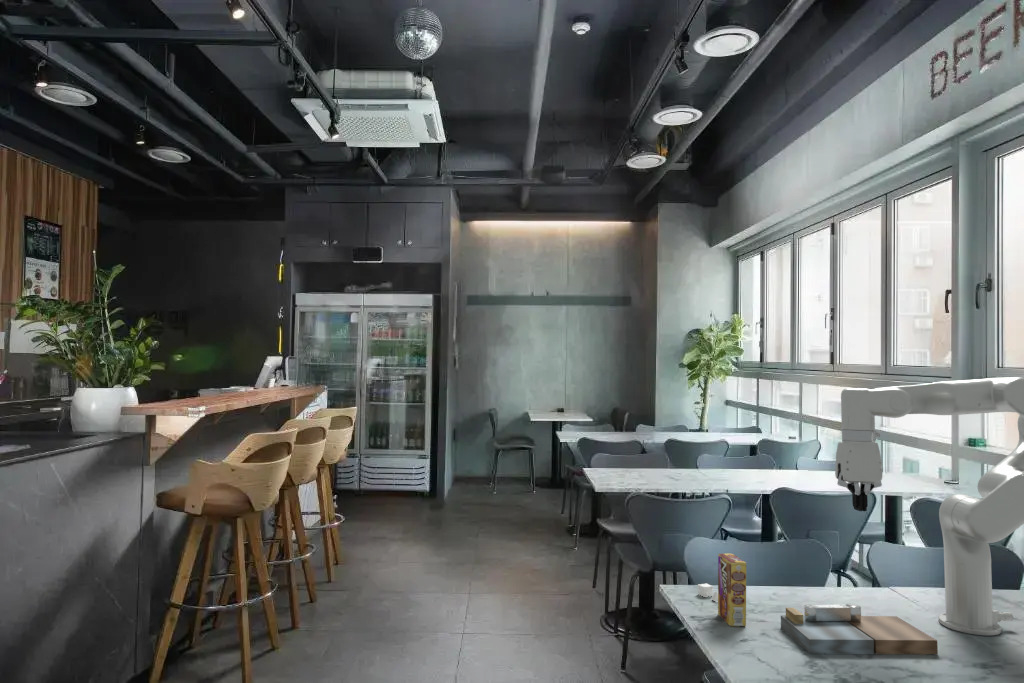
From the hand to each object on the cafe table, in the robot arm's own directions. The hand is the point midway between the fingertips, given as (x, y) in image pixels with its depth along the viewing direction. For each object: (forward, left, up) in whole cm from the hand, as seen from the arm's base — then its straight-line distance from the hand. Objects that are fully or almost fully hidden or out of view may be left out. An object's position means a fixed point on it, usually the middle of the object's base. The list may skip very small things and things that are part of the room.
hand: (860, 510), depth 166 cm
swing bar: (+12, +9, -24) cm, 28 cm away
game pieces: (+32, -14, -28) cm, 45 cm away
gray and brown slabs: (+9, +13, -27) cm, 31 cm away
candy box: (+33, +1, -27) cm, 43 cm away
